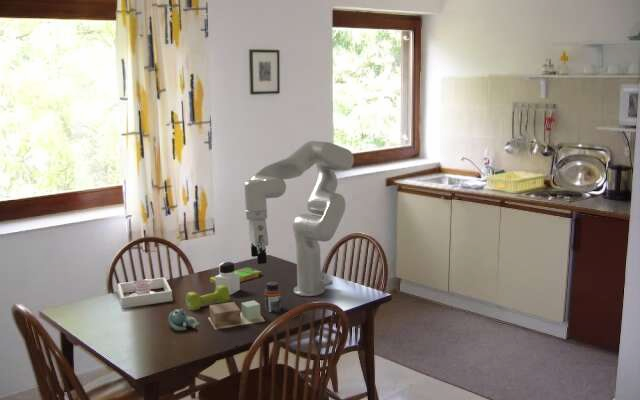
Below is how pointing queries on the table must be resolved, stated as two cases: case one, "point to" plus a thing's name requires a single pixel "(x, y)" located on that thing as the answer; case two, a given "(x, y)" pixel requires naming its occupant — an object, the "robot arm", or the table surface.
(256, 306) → the block
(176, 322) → the stuffed animal
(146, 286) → the teacup
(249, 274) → the game box
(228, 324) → the plinth
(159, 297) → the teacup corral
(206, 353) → the table surface
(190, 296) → the dumbbell
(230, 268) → the medicine bottle
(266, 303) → the supplement bottle
